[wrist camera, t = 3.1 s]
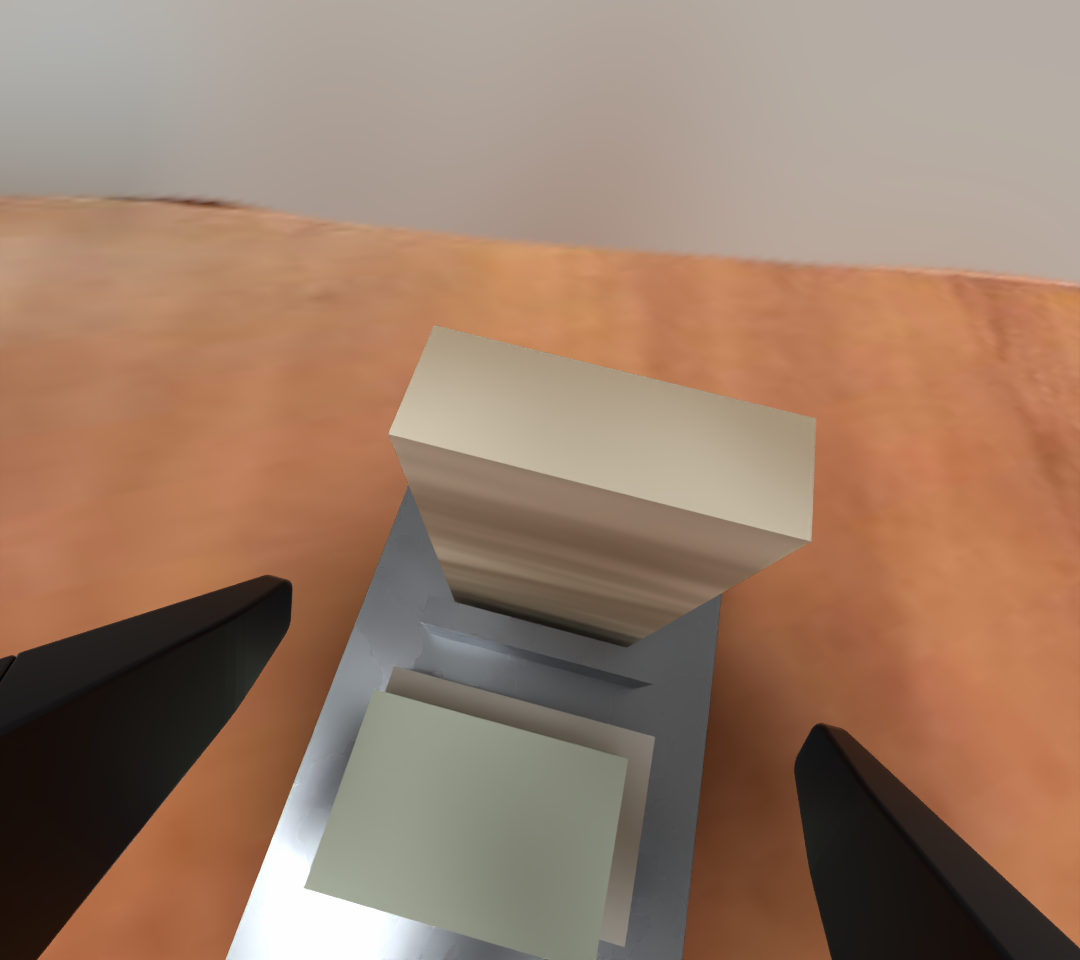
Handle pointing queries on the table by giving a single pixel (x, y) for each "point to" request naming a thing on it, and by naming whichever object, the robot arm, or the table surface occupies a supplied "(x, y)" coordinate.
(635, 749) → the offcut lower
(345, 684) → the offcut rack
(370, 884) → the offcut upper
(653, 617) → the birch block
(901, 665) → the table surface
